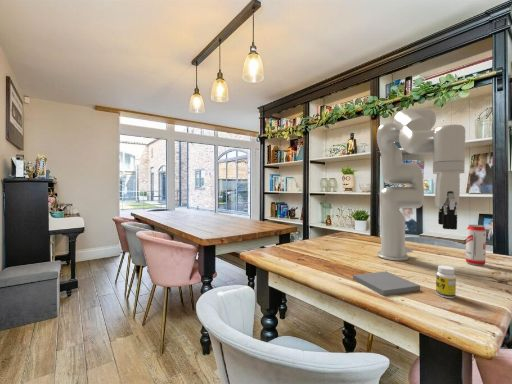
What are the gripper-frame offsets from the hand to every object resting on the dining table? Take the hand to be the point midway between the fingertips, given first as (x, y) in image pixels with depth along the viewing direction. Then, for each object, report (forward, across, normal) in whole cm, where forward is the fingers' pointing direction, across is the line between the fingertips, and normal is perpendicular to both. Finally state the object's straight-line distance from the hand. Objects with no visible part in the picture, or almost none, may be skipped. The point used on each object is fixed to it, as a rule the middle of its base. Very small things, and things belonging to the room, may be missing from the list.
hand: (446, 226), depth 79 cm
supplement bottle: (+21, 0, 0) cm, 21 cm away
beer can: (+20, -44, +16) cm, 51 cm away
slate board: (+20, -1, -16) cm, 26 cm away
